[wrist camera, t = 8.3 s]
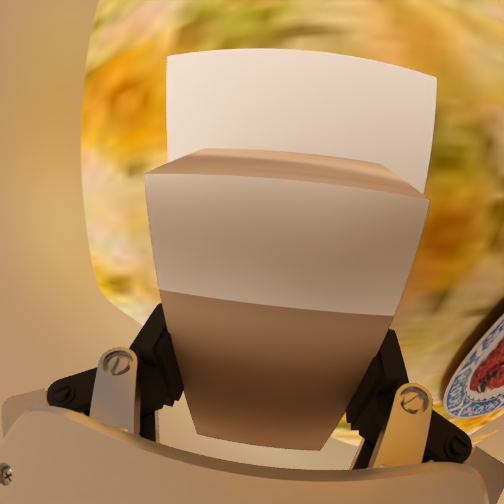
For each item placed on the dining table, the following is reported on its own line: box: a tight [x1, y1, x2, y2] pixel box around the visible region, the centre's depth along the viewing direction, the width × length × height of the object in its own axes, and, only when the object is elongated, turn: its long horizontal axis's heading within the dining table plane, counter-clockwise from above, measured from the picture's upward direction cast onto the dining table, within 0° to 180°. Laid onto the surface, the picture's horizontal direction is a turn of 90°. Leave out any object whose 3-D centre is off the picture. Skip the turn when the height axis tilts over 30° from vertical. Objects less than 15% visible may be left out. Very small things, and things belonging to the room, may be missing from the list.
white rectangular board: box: [166, 49, 437, 194], centre depth 17 cm, size 16×22×1 cm
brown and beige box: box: [144, 148, 430, 451], centre depth 10 cm, size 12×6×4 cm, turn 178°
